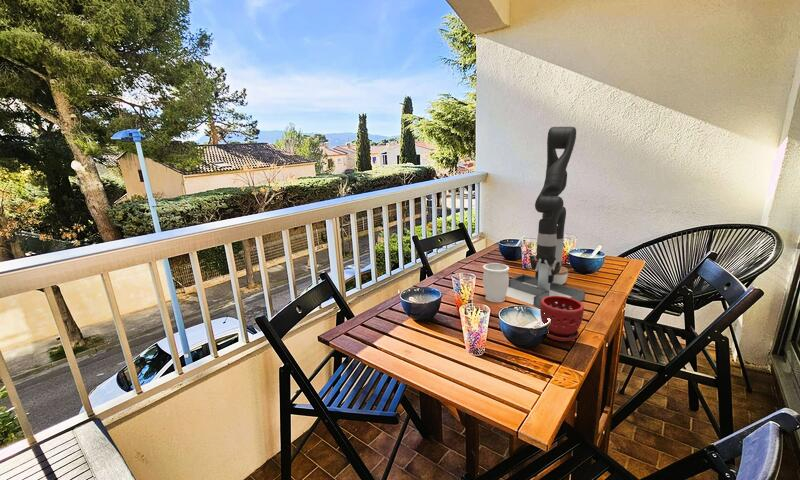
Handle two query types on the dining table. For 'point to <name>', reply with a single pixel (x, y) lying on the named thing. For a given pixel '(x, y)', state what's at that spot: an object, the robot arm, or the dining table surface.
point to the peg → (543, 277)
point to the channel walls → (542, 293)
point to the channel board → (529, 297)
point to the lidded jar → (561, 275)
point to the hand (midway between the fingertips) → (544, 280)
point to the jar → (495, 281)
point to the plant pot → (562, 317)
